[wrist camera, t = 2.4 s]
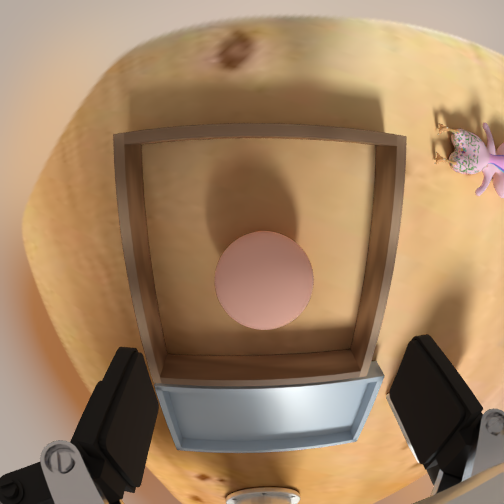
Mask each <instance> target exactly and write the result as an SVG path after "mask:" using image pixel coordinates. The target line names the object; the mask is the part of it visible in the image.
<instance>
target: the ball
mask: <svg viewBox="0 0 504 504" xmlns="http://www.w3.org/2000/svg"><path fill="white" fill-rule="evenodd" d="M313 281H314V279H313V270H312V266H311V263H310V261H309V259H308V257H307V255H306V253H305V252H304V251H303V249H302V248H301V247H300V246H299V245H298V244H297V243H296V242H295V241H293V240H292V239H290V238H289V237H287V236H285V235H282V234H280V233H276V232H271V231H257V232H252V233H249V234H246V235H244V236H242V237H240V238H238V239H237V240H235V241H234V242H233V243H231V244H230V245H229V246H228V247H227V249H226V250H225V251H224V252H223V254H222V255H221V257H220V259H219V261H218V264H217V267H216V272H215V290H216V294H217V297H218V300H219V302H220V304H221V305H222V307H223V309H224V310H225V311H226V312H227V314H228V315H229V316H230V317H232V318H233V319H234V320H235V321H237V322H238V323H240V324H242V325H244V326H246V327H249V328H253V329H259V330H269V329H275V328H279V327H282V326H284V325H286V324H288V323H290V322H291V321H293V320H294V319H295V318H297V317H298V316H299V315H300V314H301V313H302V311H303V310H304V309H305V307H306V306H307V304H308V302H309V300H310V297H311V294H312V290H313Z"/></svg>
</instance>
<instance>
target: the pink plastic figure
mask: <svg viewBox="0 0 504 504" xmlns="http://www.w3.org/2000/svg"><path fill="white" fill-rule="evenodd" d="M438 124H439V123H438ZM439 125H440V128H437V129H440V130H439V131H440V132H439V133H438V135H439V134H440V133H442V131H451V132H453V133H452V135H451V142H452V144H453V145H454V147H455V151H454V152H452V153H451V154H450V156H449V160H448V159H445V158H443V157H441V156H440V155H439V154H438V153H437V152H436V153H437V158H436V159H435V158H434V160H436V163H435V164H437V163H439V162H449V164H450V166H451V168H452V169H453V170H454V171H456V172H459V173H462V174H475V173H479V172H481V171H482V172H483V174H484V179H483V183H482V185H481V186H480V187H479V188H477V189H476V191H475V193H476V195H477V196H480V195H481V194H482V193H483V192H484V191H485V190H486V188H487V187H488V185H489V183H490V181H491V179H492V177H493V185H494V188H495V190H496V192H497V194H498V195H499V196H500V197H501V198H504V143H502V144H501V145H500V146H499V147H498V149H497V151H496V152H495V145H494V141H493V137H492V134H491V131H490V129H489V126H488V124H487V123H483V129H484V130H485V132H486V135H487V141H488V144H487V147H486V146H485V144H484V142H483V141H482V140H481V139H480V138H479V137H478V136H477V135H475V134H473V133H471V132H469V131H466V130H463V129H451V128H448V127H446V126H443V125H442V124H439Z"/></svg>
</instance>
